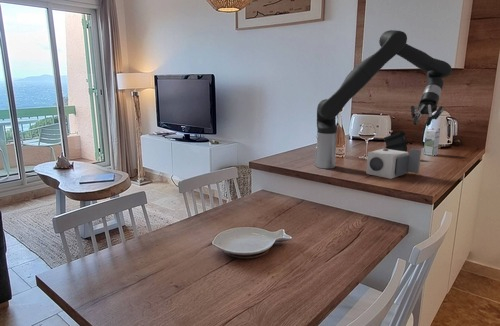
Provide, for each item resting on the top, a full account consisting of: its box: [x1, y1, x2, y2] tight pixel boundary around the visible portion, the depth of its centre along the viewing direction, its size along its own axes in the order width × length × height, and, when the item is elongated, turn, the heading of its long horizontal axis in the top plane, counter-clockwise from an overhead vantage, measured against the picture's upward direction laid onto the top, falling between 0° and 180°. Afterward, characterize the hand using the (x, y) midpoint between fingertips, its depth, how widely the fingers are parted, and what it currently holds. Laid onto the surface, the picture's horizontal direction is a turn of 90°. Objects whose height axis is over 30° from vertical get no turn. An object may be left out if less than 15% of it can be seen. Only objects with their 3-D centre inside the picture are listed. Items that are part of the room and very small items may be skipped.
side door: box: [396, 148, 422, 177], centre depth 151 cm, size 6×10×11 cm, turn 130°
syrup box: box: [423, 128, 441, 157], centre depth 198 cm, size 6×6×14 cm
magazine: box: [383, 130, 409, 152], centre depth 191 cm, size 4×13×15 cm, turn 35°
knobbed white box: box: [365, 147, 409, 180], centre depth 158 cm, size 12×15×11 cm
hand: (421, 124), depth 158 cm, fingers open, 4 cm apart
